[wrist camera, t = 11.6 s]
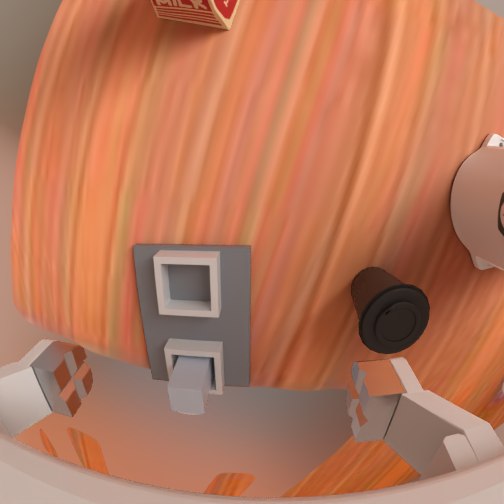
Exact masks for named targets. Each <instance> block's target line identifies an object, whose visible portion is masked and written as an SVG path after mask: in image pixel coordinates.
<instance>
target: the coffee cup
mask: <svg viewBox="0 0 504 504" xmlns="http://www.w3.org/2000/svg"><path fill="white" fill-rule="evenodd" d="M351 294H352V298H353V301H354V304H355V307H356V311H357V314H358V317H359V335H360V337H361V340H362V342H363V344H365V345H366V346H367V347H368V348H369V349H370V350H373V351H375V352H378V353H384V354H391V353H397V352H400V351H402V350H404V349H406V348H408V347H410V346H411V345H412V344H413V343H415V342H416V341H417V340H418V339H419V337H420V336H421V335H422V333H423V332H424V330H425V328H426V326H427V323H428V320H429V309H430V307H429V303H428V299H427V297H426V295H425V294H424V293H423V292H422V290H421V289H419V288H417V287H415V286H413V285H409V284H404V283H403V282H401V281H400V280H398V279H397V278H395V277H394V276H392V275H391V274H389V273H388V272H386V271H385V270H383V269H381V268H378V267H370V268H366V269H364V270H362V271H360V272H359V273H358V274H357V275H356V277H355V278H354V280H353V282H352V286H351Z"/></svg>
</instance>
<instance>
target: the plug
mask: <svg viewBox="0 0 504 504" xmlns="http://www.w3.org/2000/svg"><path fill="white" fill-rule="evenodd" d="M212 378H213V363H212V357H198V356H184V355H179V357H178V360H177V362H176V365H175V367H174V370H173V372H172V375H171V377H170V380H169V383H168V385H167V390H168V396H169V401H170V406H171V410H172V411H176V412H180V413H181V414H191V415H199V414H205V409H206V405H207V399H208V395H209V391H210V386H211V382H212Z"/></svg>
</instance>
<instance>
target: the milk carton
mask: <svg viewBox="0 0 504 504" xmlns="http://www.w3.org/2000/svg"><path fill="white" fill-rule="evenodd" d="M239 2H240V0H151V3H152V6H153V8H154V11H155V13H156V16H157V18H162V19H169V20H175V21H181V22H187V23H193V24H199V25H205V26H211V27H216V28H222V29H227V30H230V27H231V24H232V21H233V18H234V16H235V13H236V10H237V7H238V5H239Z"/></svg>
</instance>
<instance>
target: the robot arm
mask: <svg viewBox="0 0 504 504" xmlns="http://www.w3.org/2000/svg"><path fill="white" fill-rule="evenodd" d="M499 144H500V147H499ZM451 217H452V222H453V226H454V229H455V232H456V234H457V236H458V238H459V239H460V241H461V242H462V243H463V245H464V246H465V247H466V248H467V249H468V250H469V252H470V254H471V257H472V261H473V264H474V266H475V267H476V268H477V269H480V270H485V269H489V268H492V267H497V268H499V269H501V270H503V271H504V138H502V137H501V136H499V135H497V134H492V133H491V134H489V135H488V136H487V137H486V139H485V141H484V142H483V144H482V146H481V148H480V149H478V150H477V151H476V152H474V153H473V154H471V155H470V156H469V157H468V158H467V159H466V160H465V161H464V162H463V164H462V165H461V167H460V168H459V170H458V172H457V175H456V177H455V180H454V183H453V187H452V193H451ZM85 360H86V354H85V351H84V348H83V347H81V346H80V345H75V344H70V343H65V342H61V341H55V340H51V339H42V340H41V341H40V342H39V343H38V344H37V345H36V346H35V347H33V348H32V349H31V350H30V351H29V352H28V353H27V354H26V355H25V356H24V357H23V358H22V359H21V360H20V361H19V362H18V363H17V362H13V363H10V364H8V365H5V366H2V367H0V504H504V447H503V445H502V443H501V442H500V440H499V438H498V437H497V435H496V433H495V432H494V430H493V428H492V427H491V425H490V424H489V423H488V422H486V421H484V420H482V419H480V418H478V417H476V416H475V415H473V414H471V413H469V412H467V411H465V410H463V409H462V408H460V407H458V406H456V405H454V404H452V403H451V402H449V401H447V400H445V399H443V398H442V397H440V396H438V395H436V394H434V393H433V392H431V391H429V390H425V391H424V390H423V389H422V387H421V385H420V383H419V381H418V380H417V378H416V376H415V374H414V373H413V371H412V369H411V368H410V366H409V364H408V362H407V361H406V359H405V358H403V357H398V358H389V359H386V360H373V361H357V362H354V363H353V366H352V370H351V375H352V379H353V381H352V382H351V383H349V384H348V388H347V395H346V405H347V411H348V415H349V416H350V417H352V418H353V421H352V424H351V427H352V431H353V435H354V439H355V442H367V441H377V440H384V442H385V443H386V444H387V445H388V446H389V447H390V448H392V449H393V450H394V451H395V452H396V453H397V454H398V455H399V456H400V457H401V458H403V459H404V460H405V461H406V462H407V463H408V464H409V465H410V466H411V467H413V468H414V469H415V470H416V471H417V472H418V473H419V474H420V475H422V476H421V477H420V479H419V480H418V481H416V482H412V483H408V484H403V485H398V486H393V487H388V488H382V489H376V490H370V491H363V492H356V493H347V494H338V495H327V496H313V497H289V498H262V497H260V498H259V497H238V496H224V495H213V494H204V493H195V492H188V491H181V490H175V489H169V488H163V487H158V486H153V485H148V484H143V483H139V482H135V481H131V480H126V479H122V478H119V477H115V476H111V475H108V474H104V473H101V472H97V471H94V470H91V469H88V468H85V467H82V466H79V465H76V464H73V463H70V462H67V461H64V460H62V459H59V458H56V457H54V456H51V455H49V454H46V453H44V452H41V451H39V450H36V449H34V448H32V447H30V446H28V445H25V444H23V443H21V442H19V441H17V440H15V439H13V437H14V436H16V435H18V434H19V433H21V432H22V431H24V430H26V429H27V428H29V427H30V426H32V425H34V424H35V423H36V422H38V421H40V420H41V419H43V418H45V417H46V416H48V415H49V414H51V413H52V412H55V413H59V414H63V415H66V416H70V417H73V416H74V414H75V413H76V411H77V410H78V408H79V407H80V405H81V398H83V397H85V396H87V395H88V393H89V392H90V390H91V387H92V382H93V379H92V372H91V369H90V367H89V366H88V365H87V364H86V363H85Z"/></svg>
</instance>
